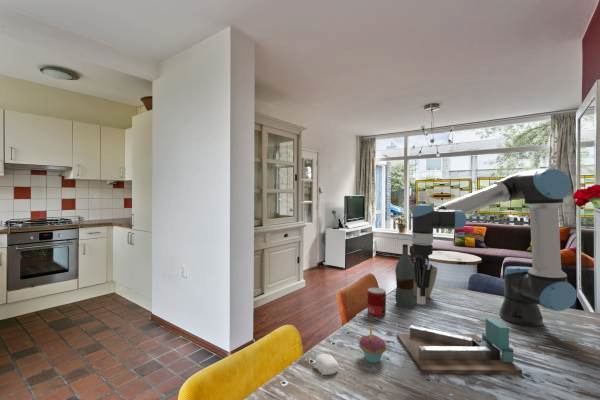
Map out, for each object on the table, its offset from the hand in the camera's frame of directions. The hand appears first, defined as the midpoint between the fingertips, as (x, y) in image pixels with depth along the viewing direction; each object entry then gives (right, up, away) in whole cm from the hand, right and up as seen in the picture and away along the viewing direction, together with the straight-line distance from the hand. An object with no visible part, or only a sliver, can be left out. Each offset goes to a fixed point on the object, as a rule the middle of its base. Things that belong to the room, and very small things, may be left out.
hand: (421, 303), depth 113 cm
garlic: (-40, -12, -24) cm, 48 cm away
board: (+4, -12, -15) cm, 19 cm away
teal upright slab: (+18, -10, -18) cm, 27 cm away
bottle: (+4, -12, +30) cm, 32 cm away
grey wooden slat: (+3, -10, -9) cm, 14 cm away
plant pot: (+18, -12, +42) cm, 48 cm away
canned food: (-13, -12, +19) cm, 25 cm away
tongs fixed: (+4, -10, -17) cm, 21 cm away
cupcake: (-24, -12, -18) cm, 32 cm away
